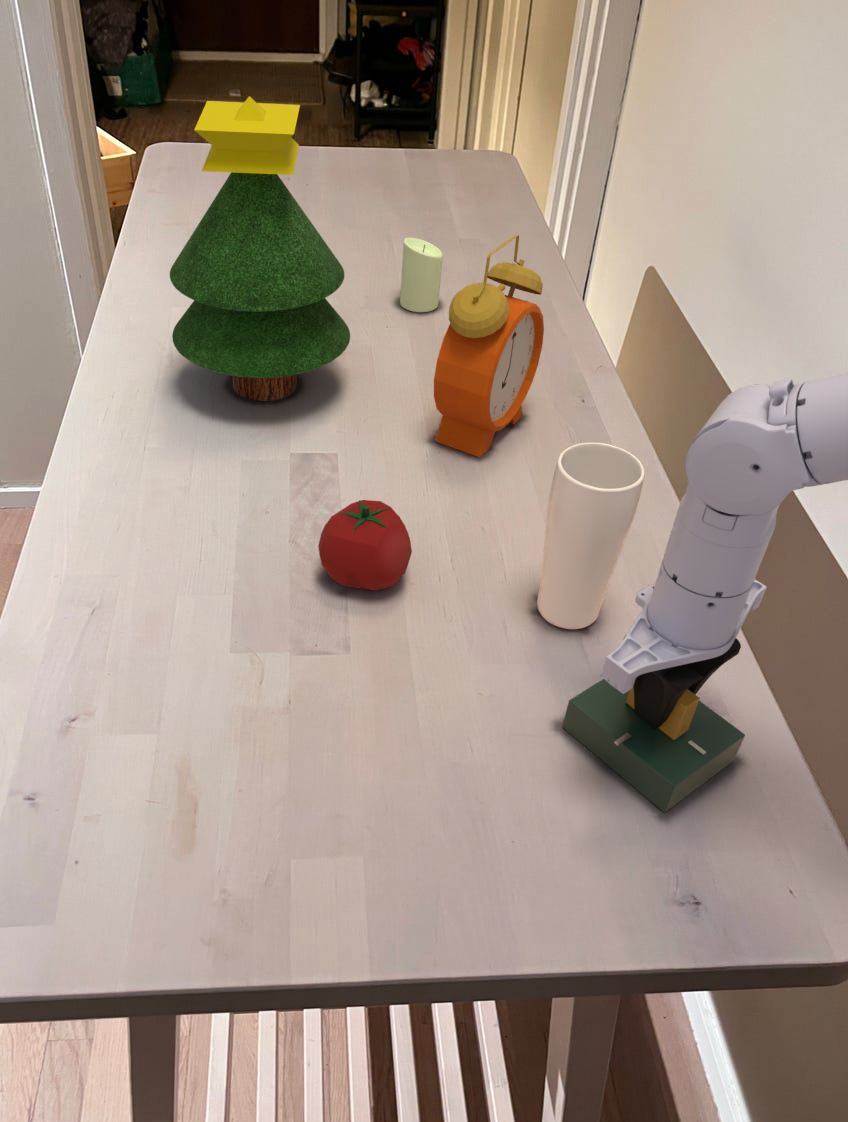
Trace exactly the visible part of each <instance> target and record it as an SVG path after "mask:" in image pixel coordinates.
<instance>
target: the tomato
mask: <svg viewBox="0 0 848 1122" xmlns="http://www.w3.org/2000/svg"><path fill="white" fill-rule="evenodd" d="M317 546H318V555H319V559H320V562H321V567H322V568H323V569H324V570H325V571H326V572H327V574H328V575H329V576H330V578H331V579H332V580H333V581H335V582H336V583H338V584H340V585H342V586H344V587H349V588H356V589H363V590H368V591H369V590H371V591H378V590H383V589H387V588H390V587H392V586H394V585H395V584H396V583H397V582H398V581H399V580H400V579H401V578H403V576H404V575H405V574H406V572H407V569H408V567H409V563H410V559H411V557H412V554H413V552H412V551H413V550H412V544H411V538H410V535H409V531H408V529H407V526H406V525H405V523H404V521H403V520H402V518H401V517H400V515H399V514H397V512H396V511H395V510H394V509H393V507H392V506H390V505H388V504H387V503H385V502H383V501H382V500H372V499H371V500H370V499H359V500H358V501H355V502H352V503H349V504H348V505H347V506H346V507H343V508H342V509H341V510H339V511H338V512H335V514H333V515H332V516H331V517H329V519H328V521H326V523H325V524H324V526H323V528H322V531H321V533H320V537H319V541H318V545H317Z"/></svg>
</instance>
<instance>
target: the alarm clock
mask: <svg viewBox="0 0 848 1122" xmlns="http://www.w3.org/2000/svg"><path fill="white" fill-rule="evenodd" d="M513 240H515V244H514V254H513V262H514V263H512V262H507V261H504V262H497V263H496V264H494V265H493V266H492V267H491V268H490V262H491V257H492V255H494V254H495V253H496V252H497V251H499V250H500V249H502V248H504V247H505V246H506V245H508V244H509V243H510V242H511V241H513ZM519 242H520V235H519V234H514V235H513V236H511V237H510V238H509V239H507V240H506V241H504V242H503V243H502V244H500V245H499V246H498V247H496V248H494V249H493V250H491V251H490V252H488V254H487V257H486V263H485V269H484V276H483V282H475V283H471V284H468V285H466V286H464V287H463V288H461V289H460V290H458V291H457V293H455V295H454V296H453V297H452V299H451V302H450V304H449V308H448V321H449V324H448V327H447V329H446V332H445V334H444V336H443V338H442V342H441V346H440V349H439V351H438V355H437V359H436V365H435V371H434V376H433V399H434V403H435V407H436V410H437V411H438V412H439V413H440V414H441V415H442V416H441V419H440V423H439V426H438V430H437V433H436V437H435V441H434V442H436V443H439V444H442V445H444V446H447V447H450V448H452V449H456V450H458V451H461V452H464V453H465V454H469V455H472V456H475V457H478V458H482V457H483V456H484V455H485V453H487V452H488V451H489V450H490V447H491V445H492V441H493V439H494V436H495V433H496V432H499V431H501V430H502V429H504V428H506V427H507V426H508V425H509V424H512V425H515V424H516V423H518V421H519V420H520V419H521V418H522V417H523V408H522V405H523V403H524V401H525V400H526V397H527V395H528V393H529V391H530V388H531V386H532V384H533V381H534V378H535V376H536V372H537V370H538V367H539V362H540V358H541V354H542V350H543V342H544V333H545V325H544V324H545V323H544V322H545V321H544V314H543V313H542V310H541V308H540V306H538V304H537V303H534V302H531V301H527V300H524V299H521V298H517V297H514V294H515V291H516V290H519V291H522V292H526V293H529V294H534V295H539V296H541V295H542V294H543V287H544V286H543V285H544V284H543V280H542V277H541V275H539V273H537V272H536V271H535V270H533V269H531V268H529V267H526V266H524V264H525V260H524V259H522V258H521V259H519V261H518V251H519ZM488 279H489V280H491V281H493V282H496V283H498V284H499V285H498V286H496V285H494V284H492V283H487V281H488ZM506 287H510V288H509V291H508V293H507V294H505V293H504V291H505V290H506Z"/></svg>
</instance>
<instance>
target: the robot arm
mask: <svg viewBox="0 0 848 1122" xmlns="http://www.w3.org/2000/svg"><path fill="white" fill-rule="evenodd" d="M685 475H686V479H687V483H686V484H687V486H686V491H685V492H684V495H682V497H681V499H680V502H679V504H678V507H677V511H676V513H675V518H674V520H673V524H672V527H671V530H670V534H669V537H668V540H667V543H666V547H665V551H664V553H663V557H662V560H661V564H660V567H659V570H658V573H657V577H656V580H655V583H654V584H650V585H649V584H648V586H646V587H644V588H642V589H641V590H639V591H638V592H636V595H635V599H634V600H635V601H634V602H635V603H636V604H637V606H639V607H640V608H642V610H641V612H640V613H639V615H638V616H637V617H636V619H635V621H634V622H633V624H632V625H631V626H630V628H629V630H628V632H627V633H626V635H624V636H623V639H622V641H621V643H619V645H618V646H617V647H616V648H615V649H614V650H613V651H612V652H610V653H608V654H607V655H606V656H605V659H604V663H603V665H602V666H603V667H602V671H601V674H600V678H602V679H604V680H606V681H607V682H608V683H609V684H610V685H612V686H613V687H614V688H616V689H617V690H619V691H620V692H621V693H622V694H625V693H626V692H628V691H629V690H631V689H632V688H634V709H635V715H637V716H638V717H639V718H641V719H642V720H643V721H644V722H646V723H647V724H648V725H649V726H651V727H652V728H653V729H657V728H659V727H660V726H661V725H662V724H663V723H664V722H665V721H666V720H667V719H668V717H669V716H670V714H671V712H672V710H673V709H674V707H675V705H676V703H677V701H678V700H679V698H680V697H681V696H682V694H683V693H684V692H685V691H686V690H687V689H688V690H690V691H691V692H692V693H694V694H695V695H696V696H697V694H698V692H699V691H700V690H701V688H702V687H703V686H704V685H705V683H706V682H707V681H708V680H709V678H711V676H712V675H713V674H715V672H716V671H717V670H718V669H720V667H722V666H723V665H724V664H725V663H727V662H728V661H730V660H731V659H733V658H735V657H736V656H738V655H739V654H740V652H741V651H740V650H741V648H742V644H741V642H740V641H739V639H738V638H737V636H738V635H739V632H740V630H741V628H742V627H743V625H744V623H745V621H746V619H747V617H748V615H749V613H750V612H753V611H755V610H756V609H758V608H759V607H760V605H761V603H762V600H763V598H764V596H765V594H766V591H767V589H768V586H766V585H765V584H763V583H762V582H760V581H758V580H757V579H756V577H757V575H758V572H759V569H760V567H761V564H762V562H763V559H764V558H765V554H766V552H767V549H768V546H769V544H770V543H771V539H772V536H773V534H774V532H775V529H776V525H777V513H778V509H779V507H780V505H781V504H782V503H783V502H784V500H785V499H786V498H787V496H788V495H789V494H791V492H794V491H796V490H801V489H804V488H808V487H817V486H823V485H828V484H835V483H838V482H839V483H840V482H844V481H848V371H844V372H840V373H836V374H833V375H827V376H823V377H820V378H815V379H812V380H809V381H804V382H800V383H797V384H795V382H794V379H792V378H791V377H789V378H785V379H782V380H777V381H775V382H773V384H772V385H771V384H764V383H762V384H761V383H760V384H759V383H757V384H750V385H745V386H742V387H740V388H738V389H736V390H734V391H732V392H731V393H729V394H728V395H727V396H726V397H725V398H724V399H723V400H722V401H721V402H720V403H719V405H718V406H717V408H716V409H715V410H714V412H713V413H712V414H711V416H710V417H709V419H708V420H707V421H706V422H705V424H704V425H703V427H702V428H701V429H700V431H699V432H698V433H697V435H696V436H695V437H694V439H693V441H692V443H691V445H690V447H689V449H688V452H687V454H686V458H685Z"/></svg>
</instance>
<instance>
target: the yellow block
mask: <svg viewBox="0 0 848 1122" xmlns="http://www.w3.org/2000/svg"><path fill="white" fill-rule="evenodd" d="M700 700H701V698H700V697H699V696H698V695H697V694H696V695H695V694H694V693H692V692H691V691H690V690H688V689H687V690H686V691H685V692H684V693H683V694H682V696H681V697H680V698H679V700H678V701H677V703H676V705H675V707H674V709H673V710H672V712H671V714H670V716H669V717H668V719H667V720H666V721H665V722H664V723H663V724H662V725H661V726H660V727H659V729H660V730H661V731H663V732H664V733H665V734H667V735H668V736H669V737H670V738H672V739H673V740H675V739H677V738H678V737H680V736H681V735H682V734H684V733H685V732H687V731H688V729H689V726H690V723H691V721H692V718H693V716H694V713H695V711H696V708H697V705H698V703H699V701H700ZM626 703H627V704H628V705H630V706H631V707H632V708H633V709H634V688H632V689H631V690H630V691H629V694H628V697H627V700H626Z"/></svg>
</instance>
